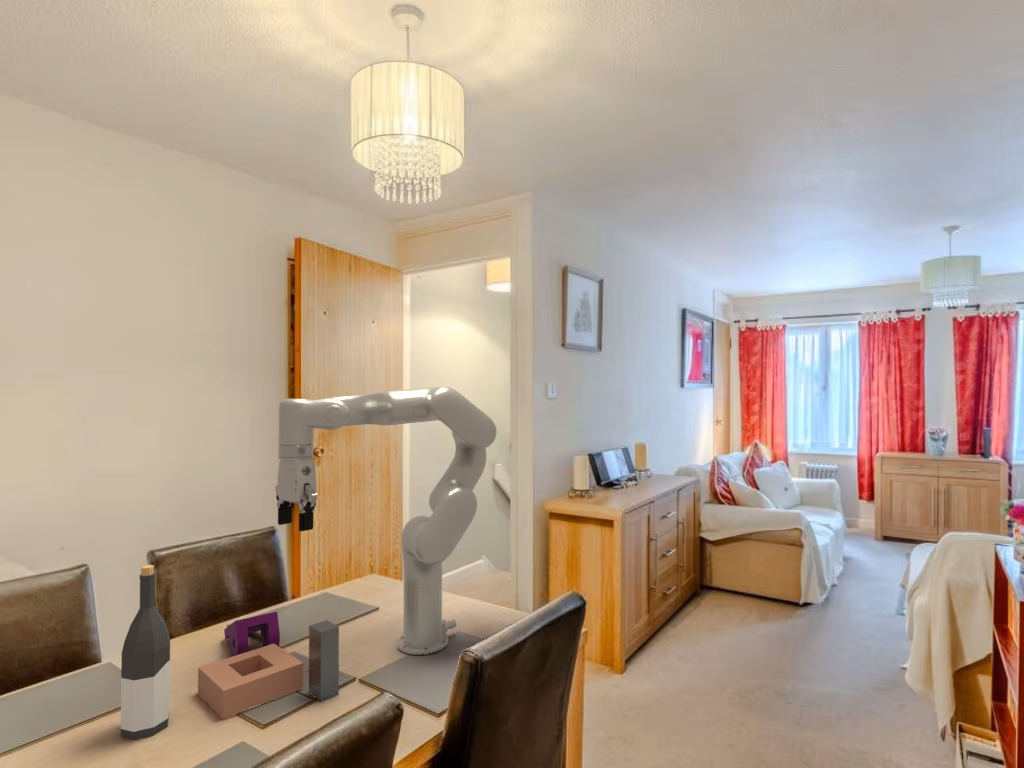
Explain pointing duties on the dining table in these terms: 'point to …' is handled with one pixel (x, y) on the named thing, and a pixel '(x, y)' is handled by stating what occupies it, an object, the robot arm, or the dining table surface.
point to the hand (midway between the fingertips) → (295, 526)
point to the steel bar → (324, 660)
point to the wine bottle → (145, 667)
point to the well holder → (249, 679)
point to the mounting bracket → (250, 625)
